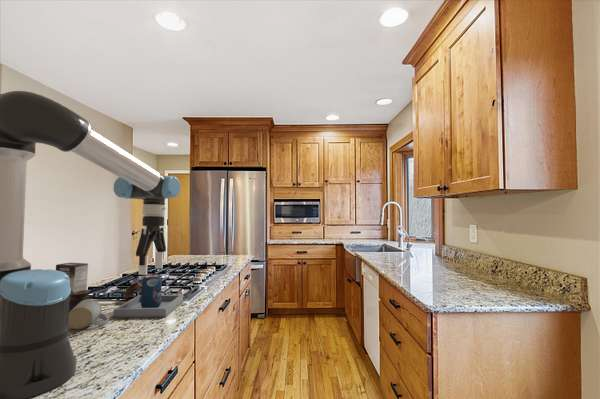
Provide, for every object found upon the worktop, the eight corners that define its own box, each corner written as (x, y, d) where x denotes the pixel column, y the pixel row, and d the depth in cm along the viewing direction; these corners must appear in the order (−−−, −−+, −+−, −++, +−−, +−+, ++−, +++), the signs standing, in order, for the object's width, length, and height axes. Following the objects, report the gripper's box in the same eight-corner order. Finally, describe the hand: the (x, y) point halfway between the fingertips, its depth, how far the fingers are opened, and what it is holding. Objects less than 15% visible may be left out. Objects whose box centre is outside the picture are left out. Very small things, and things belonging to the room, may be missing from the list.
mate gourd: (91, 314, 106) (91, 287, 106) (64, 319, 101) (65, 290, 102) (92, 309, 112) (92, 283, 112) (66, 313, 107) (67, 286, 108)
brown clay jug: (148, 303, 122) (137, 287, 120) (127, 313, 121) (116, 297, 119) (157, 288, 133) (147, 273, 131) (138, 297, 133) (128, 283, 131)
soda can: (157, 309, 109) (158, 277, 109) (137, 310, 108) (138, 277, 108) (163, 304, 116) (164, 273, 116) (144, 305, 115) (145, 274, 115)
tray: (165, 317, 103) (165, 308, 103) (113, 318, 102) (113, 309, 102) (183, 301, 121) (183, 294, 121) (138, 302, 120) (138, 295, 120)
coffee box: (53, 305, 116) (54, 264, 117) (68, 300, 123) (69, 262, 123) (72, 306, 115) (74, 265, 116) (87, 301, 121) (88, 262, 122)
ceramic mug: (63, 332, 90) (65, 306, 91) (75, 322, 98) (76, 299, 98) (103, 328, 93) (105, 304, 94) (111, 319, 101) (112, 297, 102)
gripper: (148, 215, 101) (145, 277, 100) (175, 216, 126) (173, 266, 125) (126, 215, 101) (123, 277, 99) (157, 216, 126) (155, 266, 124)
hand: (151, 271), depth 112 cm, fingers open, 13 cm apart
